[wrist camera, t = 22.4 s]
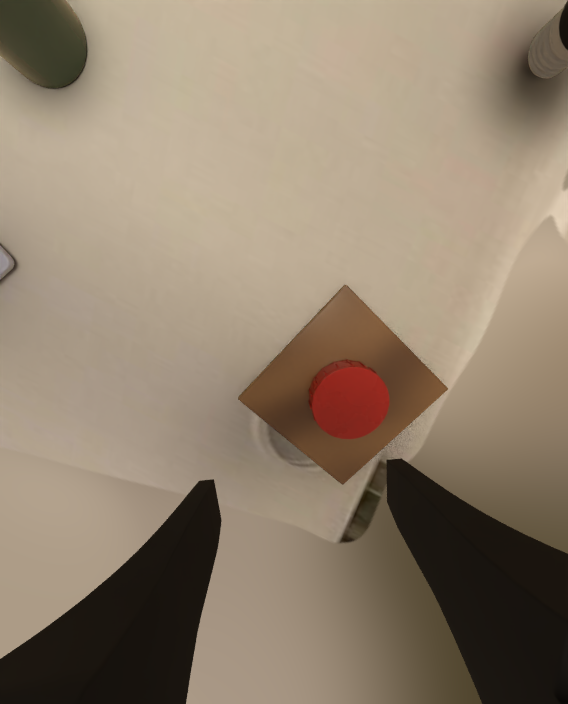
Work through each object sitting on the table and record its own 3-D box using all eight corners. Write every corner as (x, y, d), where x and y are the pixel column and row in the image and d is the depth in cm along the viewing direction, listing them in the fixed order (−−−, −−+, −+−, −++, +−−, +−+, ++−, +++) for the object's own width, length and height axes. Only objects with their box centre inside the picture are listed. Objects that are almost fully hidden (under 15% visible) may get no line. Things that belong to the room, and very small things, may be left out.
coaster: (238, 397, 20) (237, 399, 20) (344, 284, 19) (346, 284, 18) (341, 481, 22) (342, 485, 22) (445, 387, 21) (448, 389, 20)
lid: (395, 389, 20) (407, 398, 18) (345, 440, 21) (352, 454, 19) (342, 343, 19) (349, 349, 17) (292, 399, 20) (294, 410, 18)
